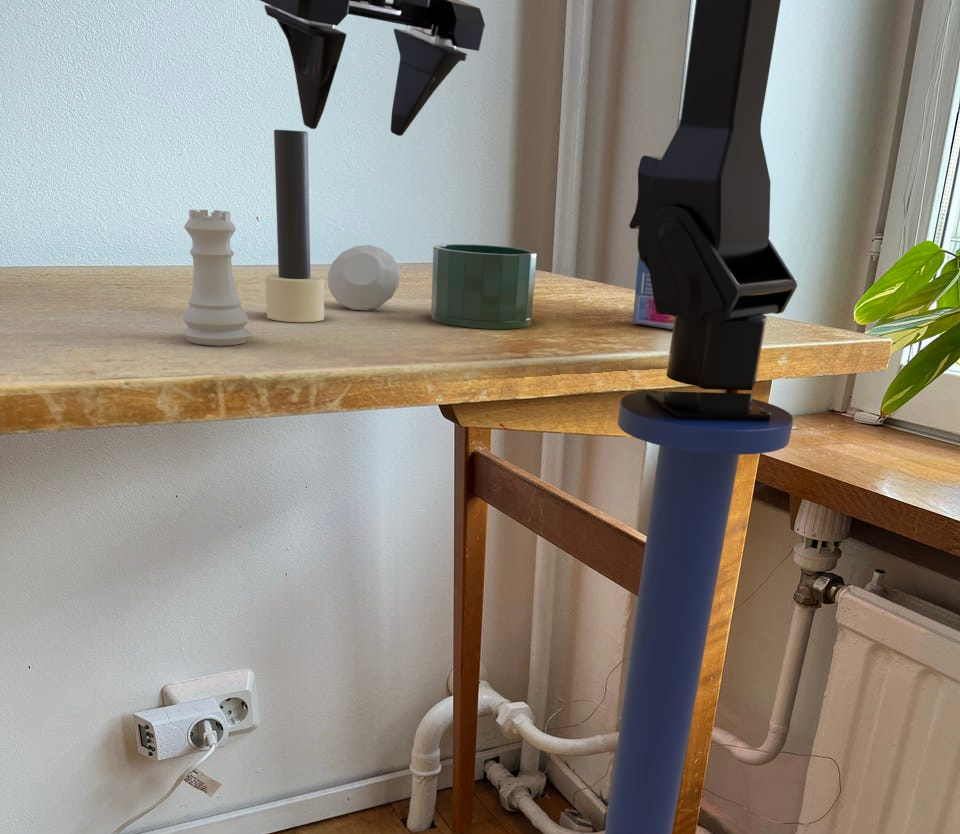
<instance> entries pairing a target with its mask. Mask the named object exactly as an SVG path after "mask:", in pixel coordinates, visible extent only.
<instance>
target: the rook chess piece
mask: <svg viewBox="0 0 960 834" xmlns="http://www.w3.org/2000/svg"><path fill="white" fill-rule="evenodd" d="M188 217H189V218H188V219H187V221H186V223H185V224H184V226H183V228H184V229H185V231H186V232H187V234H188V235H189V236H190V237H191V240H192V245H191V248H190V250H189V254H190V256H191V257H192V263H193V273H192V275H193V276H192V288H191V295H190V299H188V300H187V304H188V307H187V308H186V309H185V310H184V311H183V313H182V319H181V320H182V321H183V322H184V324H185V325H186V326H187V327H186V328H185V329H184V330H183V331H182V335H183V336H184V338H185V339H186V340H187V341H188V342H190V343H191V344H195V345H200V346H201V345H203V346H217V347H222V346H223V347H224V346H236V345H241V344H242V345H243V344H244V343H246V342H247V341H248V339H249V337H250V336H251V332H250V331H249V330H248V329H247V328H245V327H246V325H247V324H248V323H249V319H250V318H249V316H248V313H247V312H246V310H244V309H243V307H242V306H241V305H242V301H241V300H240V299H239V297H238V294H237V290H236V285H235V279H234V273H233V267H232V257H233V256H234V254H235V252H234V251H233V250H232V249H231V248H232V247H231V238H232V237H233V236H234V234H235V232H236V230H237V227H236V225H235V224H234V223H233V221H231V213H230V211H228V210H227V211H224V210H218V209H217V210H216V209H215V210H213V211H211V212H210V215H209V211H208V209H199V211H198V209H189V210H188Z"/></svg>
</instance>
